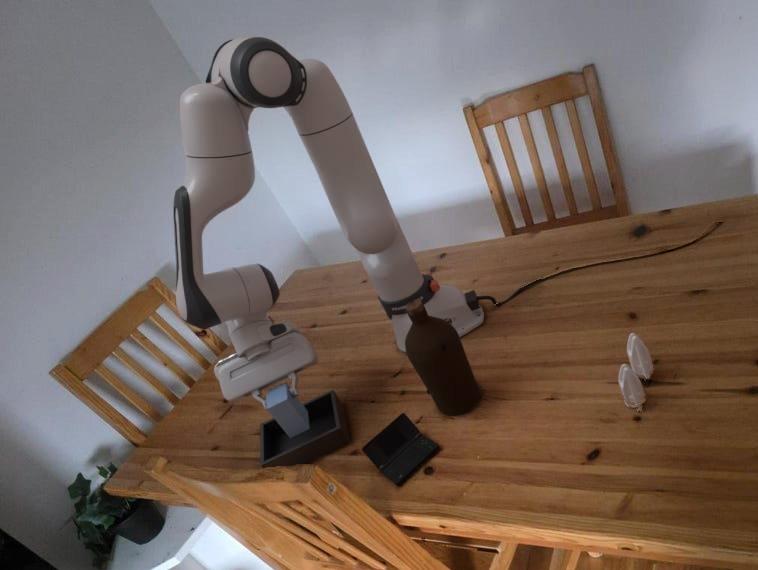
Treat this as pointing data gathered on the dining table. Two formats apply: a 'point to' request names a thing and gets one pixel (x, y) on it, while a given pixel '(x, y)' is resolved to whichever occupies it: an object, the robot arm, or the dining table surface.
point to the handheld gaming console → (399, 449)
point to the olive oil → (440, 361)
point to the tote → (306, 434)
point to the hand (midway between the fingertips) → (283, 402)
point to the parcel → (287, 410)
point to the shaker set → (634, 371)
